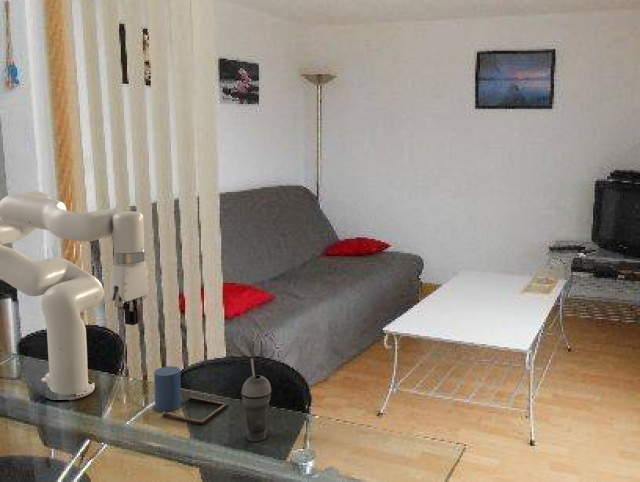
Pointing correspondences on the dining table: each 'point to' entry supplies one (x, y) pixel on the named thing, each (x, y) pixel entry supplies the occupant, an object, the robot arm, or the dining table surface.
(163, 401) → the can
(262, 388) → the beverage cup
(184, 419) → the frame
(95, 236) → the robot arm
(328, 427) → the dining table surface
